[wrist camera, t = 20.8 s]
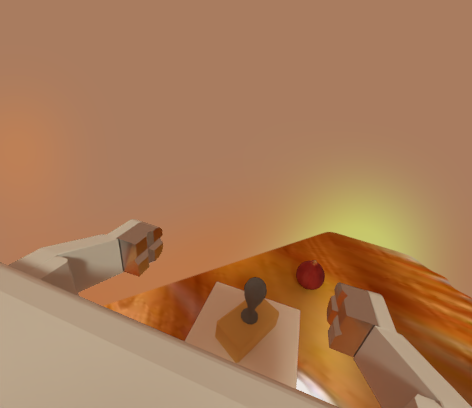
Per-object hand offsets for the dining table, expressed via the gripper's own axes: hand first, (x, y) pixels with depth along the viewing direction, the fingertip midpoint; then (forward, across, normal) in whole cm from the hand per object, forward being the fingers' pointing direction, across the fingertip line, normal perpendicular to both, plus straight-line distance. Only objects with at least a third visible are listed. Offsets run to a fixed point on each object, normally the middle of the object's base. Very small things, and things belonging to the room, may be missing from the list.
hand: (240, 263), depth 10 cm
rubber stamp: (+17, 0, +30) cm, 34 cm away
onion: (+32, -10, +30) cm, 45 cm away
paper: (+17, 0, +30) cm, 35 cm away
